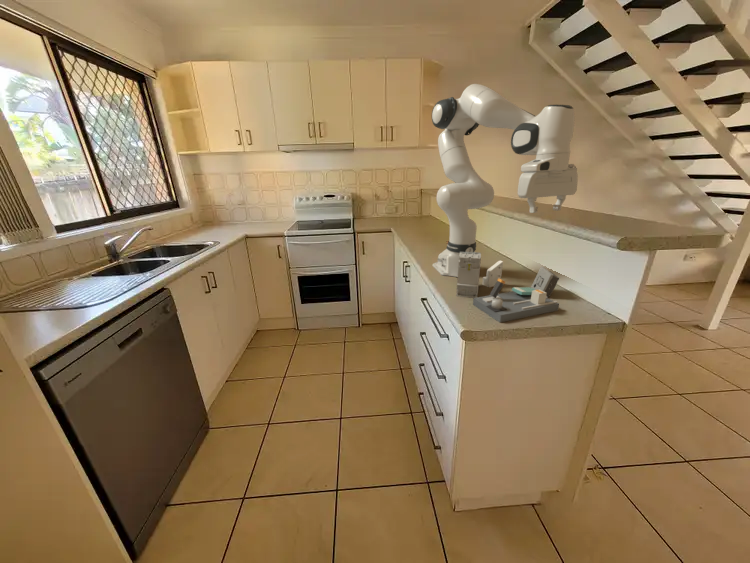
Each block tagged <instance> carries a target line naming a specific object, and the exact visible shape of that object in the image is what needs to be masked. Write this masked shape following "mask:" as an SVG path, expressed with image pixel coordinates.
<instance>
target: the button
mask: <svg viewBox="0 0 750 563" xmlns="http://www.w3.org/2000/svg"><path fill="white" fill-rule="evenodd" d="M502 304H503V300H501V299H497V298H495V299H492V305H491V307H492V308H493V309H502Z"/></svg>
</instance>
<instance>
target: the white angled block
mask: <svg viewBox="0 0 750 563" xmlns="http://www.w3.org/2000/svg"><path fill="white" fill-rule="evenodd" d="M503 263H504V261H503V260H497V262H495V263H494V264H493V265H491V266H490V267H489V268H488V269H487V270H486V276H483V277H482V283H481V284H482V286H485V287H487V288H492V287H493V288H494V286H495V284H496V283H497V280H498V278H499V279H501V278H502V272H503ZM501 280H502V279H501Z"/></svg>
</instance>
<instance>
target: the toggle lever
mask: <svg viewBox="0 0 750 563" xmlns="http://www.w3.org/2000/svg"><path fill="white" fill-rule="evenodd" d="M505 284H506V280H503V279H499V278H498V280H497V283H496V284H495V286H493V288H492V290H491V291H490V294H489V295H491V296H493V297H495V298H496V297H497V295H498V294H500V291H501V290H502V288H503V286H504V285H505Z"/></svg>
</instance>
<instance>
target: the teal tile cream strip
mask: <svg viewBox="0 0 750 563" xmlns="http://www.w3.org/2000/svg"><path fill="white" fill-rule="evenodd" d="M533 290H535V289H533V288H531V286H529V287H528V286H527V287H526V286H525V287H517V286H516V287H515V286H514V287H512V288H511V292H512V291H514V292H516V293H518V294H520V295H532V291H533Z"/></svg>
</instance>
